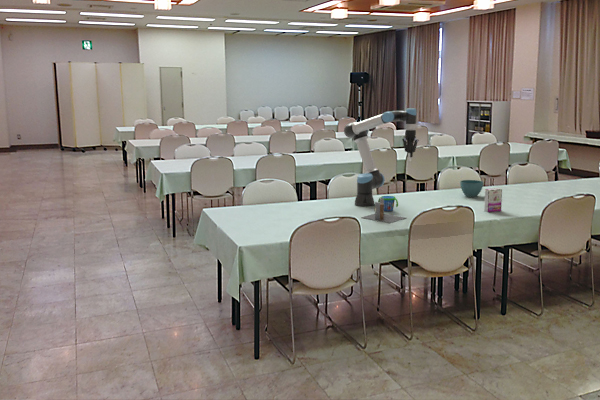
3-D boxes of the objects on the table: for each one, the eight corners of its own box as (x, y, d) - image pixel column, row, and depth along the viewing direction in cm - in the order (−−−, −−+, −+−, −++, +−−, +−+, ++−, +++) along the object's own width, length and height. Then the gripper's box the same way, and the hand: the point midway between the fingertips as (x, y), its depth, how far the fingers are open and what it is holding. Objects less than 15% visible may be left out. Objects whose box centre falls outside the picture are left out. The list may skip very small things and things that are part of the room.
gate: (379, 214, 406) (379, 200, 403) (383, 214, 405) (383, 200, 403) (379, 219, 392) (379, 204, 390) (383, 219, 391) (383, 204, 389)
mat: (361, 217, 399) (361, 217, 399) (378, 213, 413) (378, 212, 413) (389, 223, 383) (389, 222, 383) (406, 218, 397) (406, 217, 397)
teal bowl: (455, 195, 477) (455, 180, 474) (474, 193, 482) (474, 179, 480) (467, 199, 460) (468, 184, 458) (487, 197, 465) (488, 182, 463)
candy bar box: (497, 210, 420) (498, 187, 417) (501, 211, 415) (502, 189, 412) (483, 211, 417) (485, 188, 414) (487, 212, 412) (489, 190, 409)
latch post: (375, 219, 395) (375, 202, 393) (379, 219, 395) (379, 202, 392) (374, 220, 390) (375, 203, 388) (379, 220, 390) (379, 203, 387)
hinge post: (377, 214, 410) (378, 197, 408) (384, 214, 410) (385, 197, 407) (377, 215, 405) (378, 198, 403) (385, 215, 405) (385, 199, 402)
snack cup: (374, 210, 423) (375, 196, 421) (383, 207, 431) (383, 194, 429) (392, 213, 413) (393, 199, 411) (400, 210, 420) (401, 197, 418)
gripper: (400, 129, 424) (399, 161, 429) (415, 130, 415) (414, 162, 420) (406, 128, 429) (405, 160, 434) (421, 129, 420) (420, 161, 425)
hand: (409, 161), depth 427 cm, fingers closed
